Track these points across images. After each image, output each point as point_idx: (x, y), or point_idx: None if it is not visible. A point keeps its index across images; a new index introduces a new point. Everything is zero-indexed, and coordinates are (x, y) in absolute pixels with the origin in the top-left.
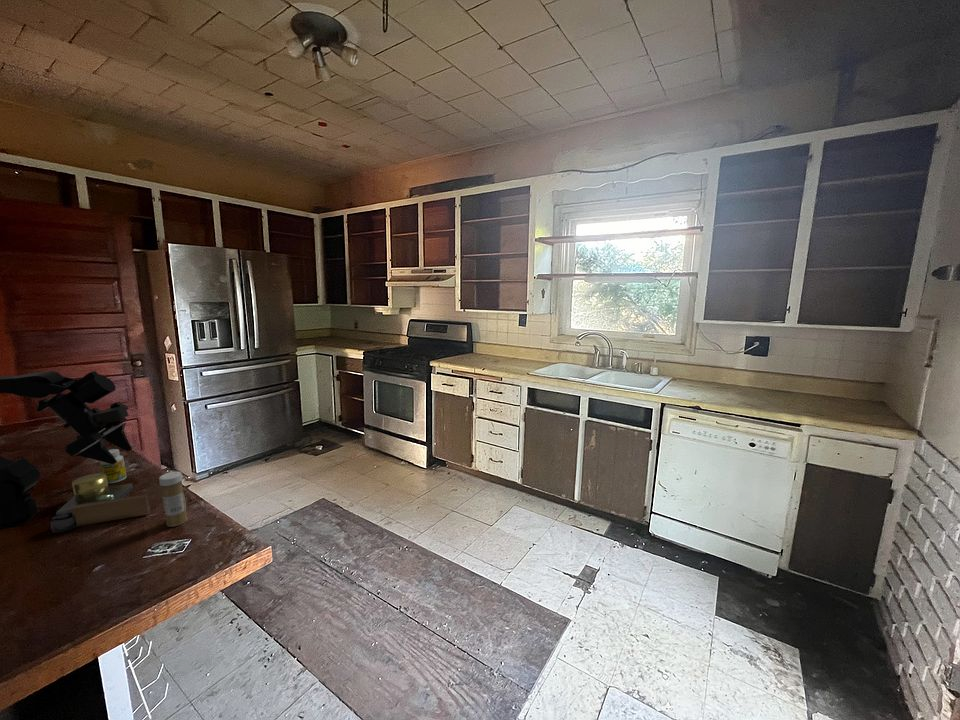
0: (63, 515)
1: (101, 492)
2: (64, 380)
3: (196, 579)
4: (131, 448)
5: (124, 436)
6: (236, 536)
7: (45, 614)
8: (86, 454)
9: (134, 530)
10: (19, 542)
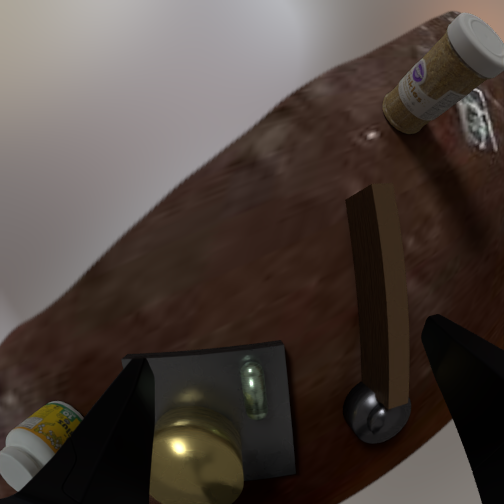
0: (403, 412)
1: (214, 418)
2: None
3: None
4: (138, 358)
5: (80, 461)
6: (440, 23)
7: None
8: None
9: (424, 206)
10: (394, 455)
